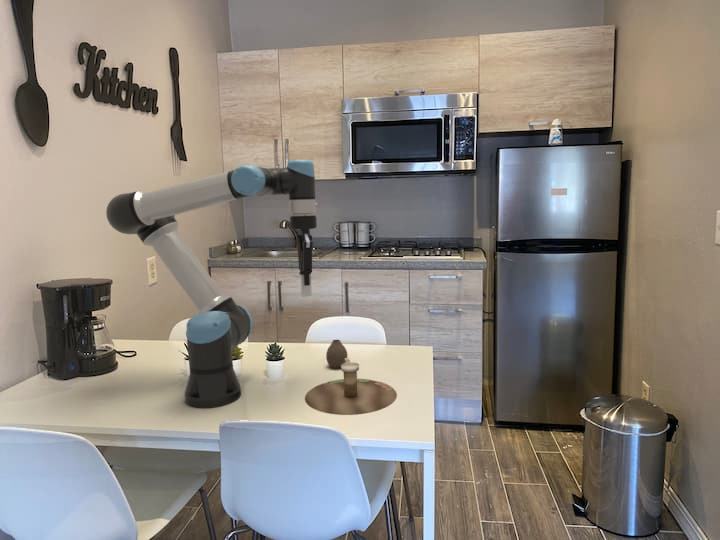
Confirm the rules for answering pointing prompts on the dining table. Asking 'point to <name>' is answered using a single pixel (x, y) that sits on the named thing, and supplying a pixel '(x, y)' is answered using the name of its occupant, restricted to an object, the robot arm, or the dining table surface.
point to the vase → (336, 354)
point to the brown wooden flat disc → (335, 402)
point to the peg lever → (350, 377)
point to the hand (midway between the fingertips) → (306, 295)
